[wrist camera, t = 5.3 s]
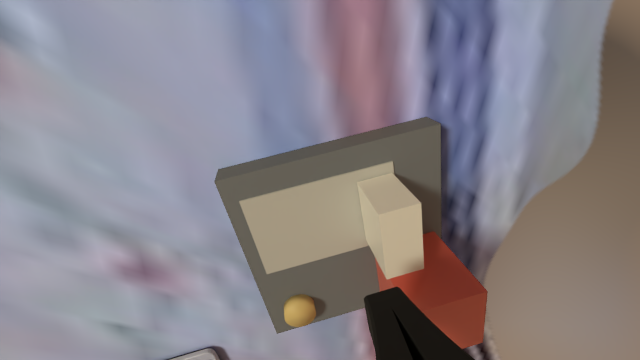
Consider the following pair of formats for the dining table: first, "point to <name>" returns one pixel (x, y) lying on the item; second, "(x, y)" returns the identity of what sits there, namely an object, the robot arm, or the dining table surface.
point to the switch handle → (392, 224)
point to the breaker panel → (325, 216)
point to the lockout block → (444, 292)
